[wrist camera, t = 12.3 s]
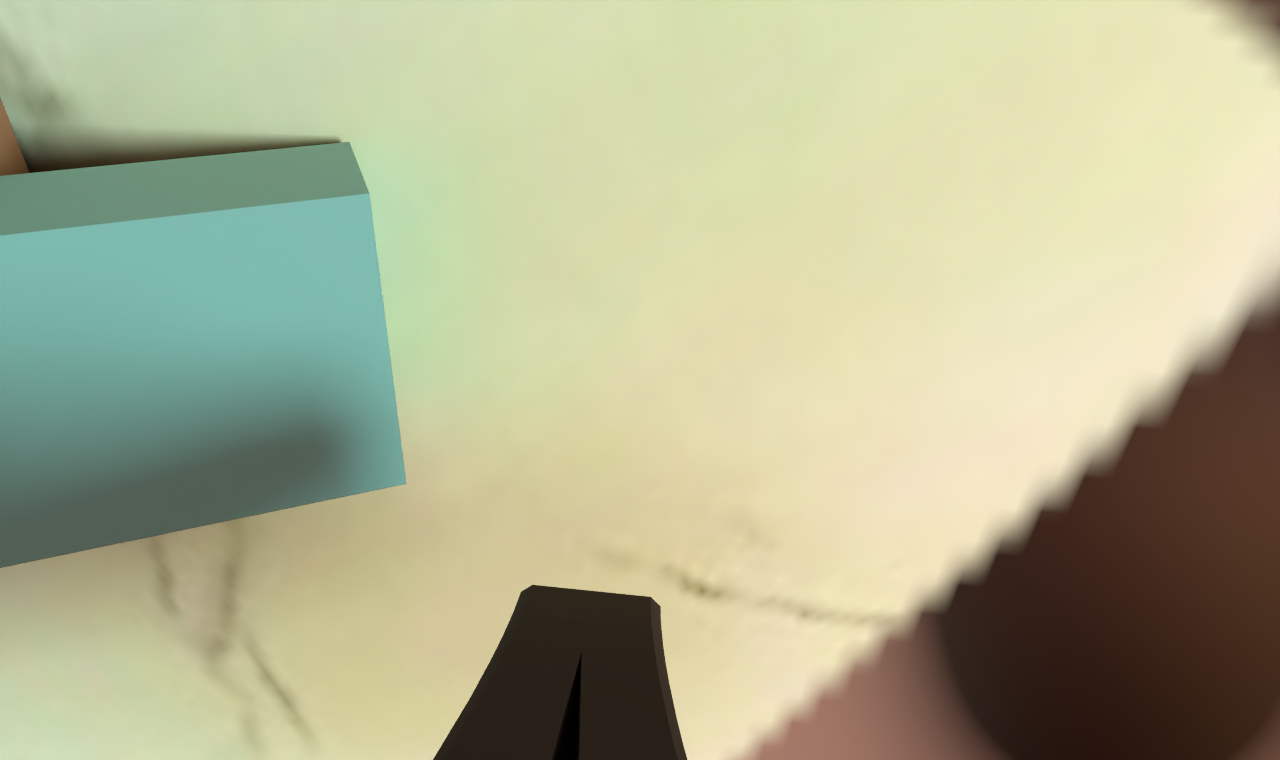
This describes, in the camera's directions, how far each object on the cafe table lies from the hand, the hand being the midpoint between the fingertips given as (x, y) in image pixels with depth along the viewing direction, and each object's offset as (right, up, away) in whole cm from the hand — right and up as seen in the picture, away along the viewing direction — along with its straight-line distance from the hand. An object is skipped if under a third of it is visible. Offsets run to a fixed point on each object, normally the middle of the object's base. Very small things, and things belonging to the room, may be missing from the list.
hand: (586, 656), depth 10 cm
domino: (-3, +4, +5) cm, 7 cm away
